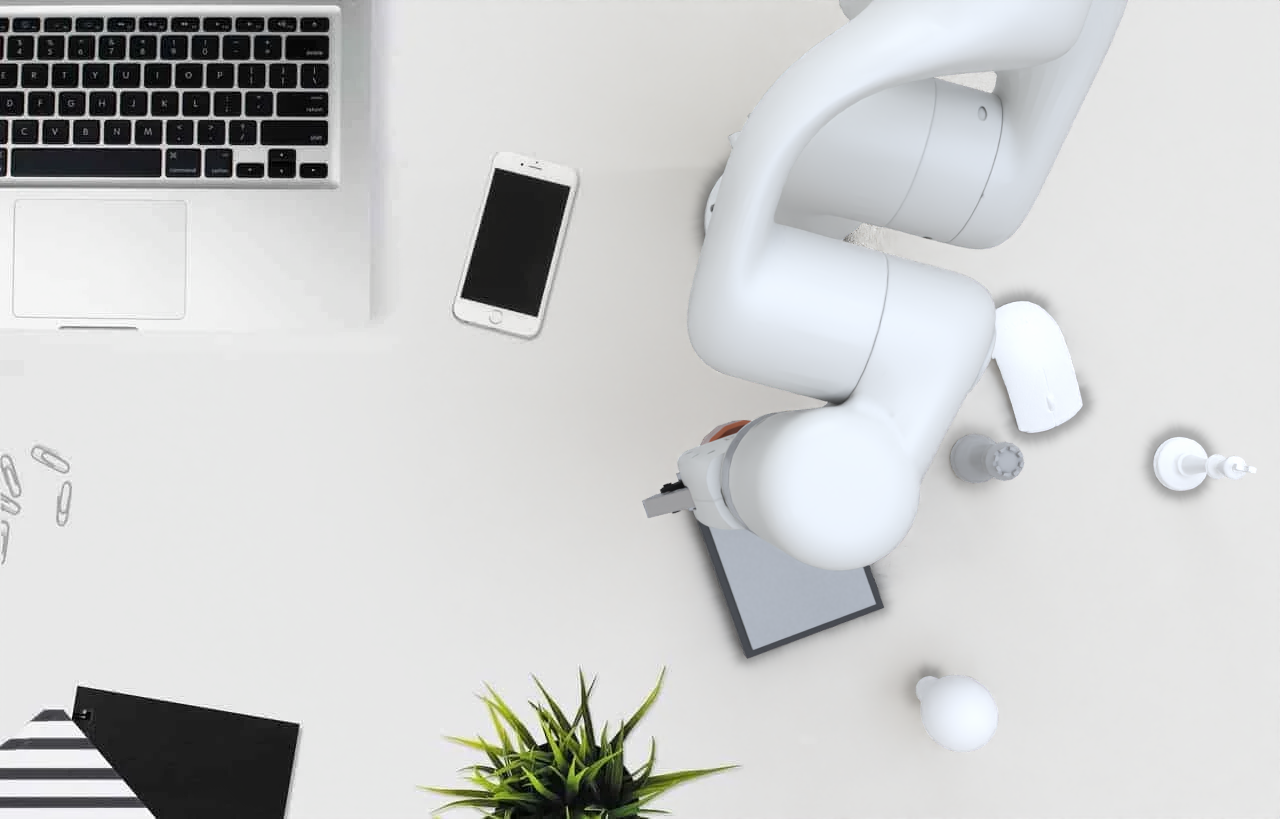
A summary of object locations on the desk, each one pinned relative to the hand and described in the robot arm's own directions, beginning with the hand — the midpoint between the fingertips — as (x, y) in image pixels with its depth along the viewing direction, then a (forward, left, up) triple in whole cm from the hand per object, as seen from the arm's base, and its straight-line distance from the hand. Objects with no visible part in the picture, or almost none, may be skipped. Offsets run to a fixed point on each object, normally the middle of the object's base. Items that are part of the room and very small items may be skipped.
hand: (740, 466), depth 74 cm
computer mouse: (+2, +30, -16) cm, 34 cm away
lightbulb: (+26, +11, -16) cm, 32 cm away
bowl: (0, 0, -1) cm, 1 cm away
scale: (+10, +3, -16) cm, 19 cm away
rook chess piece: (+8, +22, -16) cm, 28 cm away
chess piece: (+15, +40, -16) cm, 46 cm away
